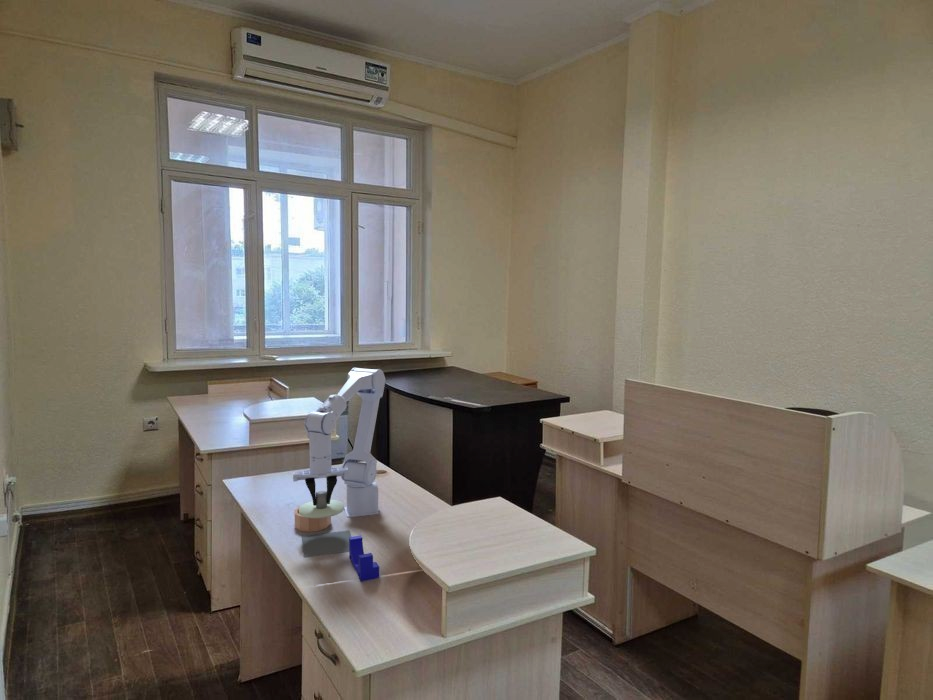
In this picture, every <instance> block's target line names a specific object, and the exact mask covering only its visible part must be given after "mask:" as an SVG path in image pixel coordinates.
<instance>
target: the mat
mask: <svg viewBox="0 0 933 700" xmlns="http://www.w3.org/2000/svg"><path fill="white" fill-rule="evenodd" d="M349 537H352V534H351V531H350V529H348V530H342V531H333V532H331V531H330V532H323V533H317V534H316V533H315V534H308V535H307V534H306V535H301V543H302V551H303V558H311V557H317V556H325V555H326V556H327V555H333V554H341V553H347V552H348V553H349Z"/></svg>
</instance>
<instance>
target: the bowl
mask: <svg viewBox="0 0 933 700" xmlns="http://www.w3.org/2000/svg"><path fill="white" fill-rule="evenodd" d="M299 507H300V506H297V507H296V508H295V509H294V528H295V529H297V530H298V531H302V532H308V533H309V532H317V531H321V530H325V529H326V528H329V526H330V525H332V516H331V517H326V518H307V517H304V516H301V515H300V514H299Z"/></svg>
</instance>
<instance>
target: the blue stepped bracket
mask: <svg viewBox="0 0 933 700" xmlns="http://www.w3.org/2000/svg"><path fill="white" fill-rule="evenodd" d="M348 553H349V555H348V556H349V557H348V558H349V559H350V562H351V564H352V566H353V568H354V569H355V572H356V573H357V575H358V578H359V579H358V580H359V581H360V582H366V581H371V580H375V579H380V565H379V563H378V562H377V561H374V554H372V552H368V553H365V552H364V544H363V536H362V535H360V534H359V535H354V536H351V537H349V552H348Z"/></svg>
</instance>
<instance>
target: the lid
mask: <svg viewBox="0 0 933 700" xmlns="http://www.w3.org/2000/svg"><path fill="white" fill-rule="evenodd" d="M315 496H316V505H315V506H313V500H312V501H308V502H305V503H303V504H301V505H300V506H298V507H299V514H300V515H301V516H304V517H307V518H326V517H331V518H332V517H334V516H337V515H339V514H342V512H343V511H345V509H344V507H345V504H344V503H343V502H342V501H340V500H336V499H330V504H327V490H320V491H315Z"/></svg>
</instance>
